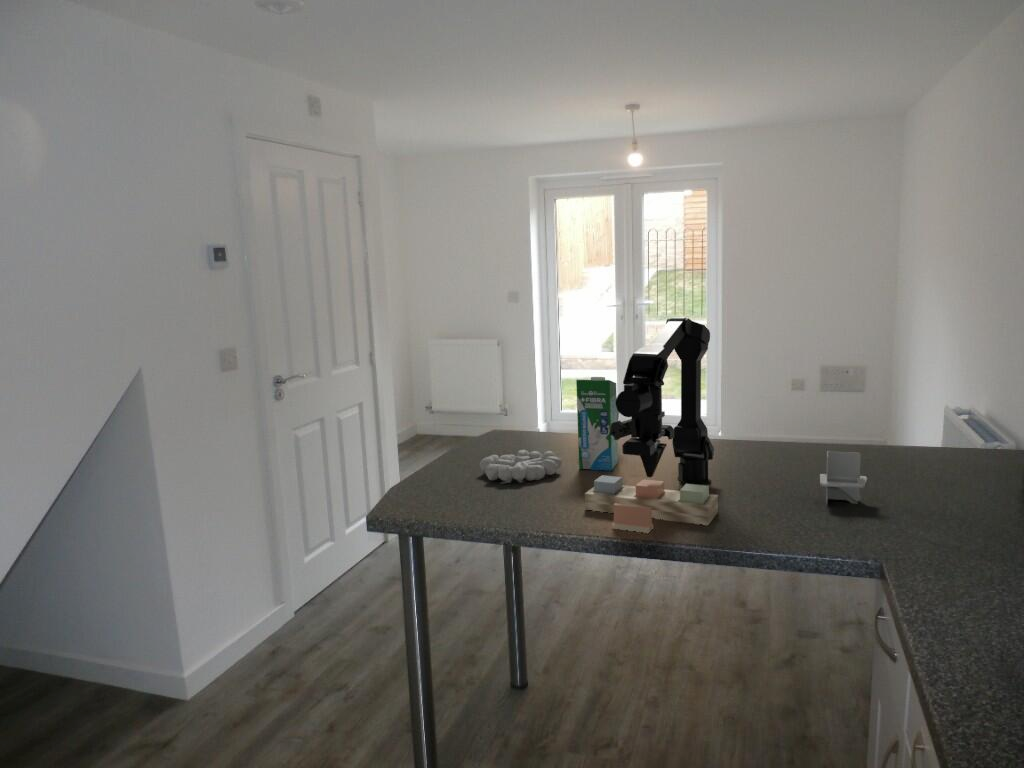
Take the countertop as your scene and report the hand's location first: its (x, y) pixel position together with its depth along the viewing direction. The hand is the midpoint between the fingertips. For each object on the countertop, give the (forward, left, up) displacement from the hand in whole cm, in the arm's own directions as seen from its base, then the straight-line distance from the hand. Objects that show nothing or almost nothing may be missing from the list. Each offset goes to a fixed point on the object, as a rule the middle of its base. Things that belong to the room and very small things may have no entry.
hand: (649, 476), depth 169 cm
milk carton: (-1, -40, -8) cm, 41 cm away
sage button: (-8, +7, -4) cm, 11 cm away
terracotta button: (0, 0, -4) cm, 4 cm away
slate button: (+8, -6, -4) cm, 11 cm away
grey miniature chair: (-42, +9, -9) cm, 44 cm away
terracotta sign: (+8, +9, -8) cm, 14 cm away
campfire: (+21, -40, -8) cm, 46 cm away
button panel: (0, 0, -8) cm, 8 cm away
